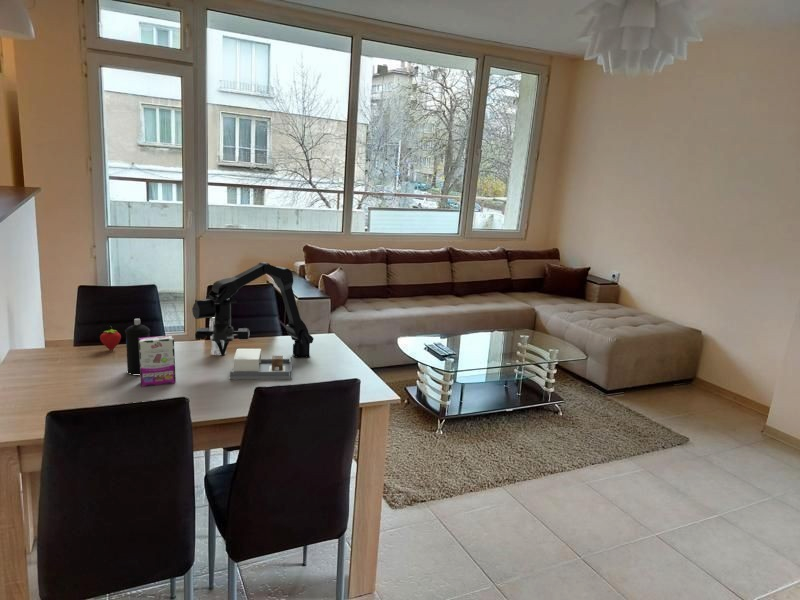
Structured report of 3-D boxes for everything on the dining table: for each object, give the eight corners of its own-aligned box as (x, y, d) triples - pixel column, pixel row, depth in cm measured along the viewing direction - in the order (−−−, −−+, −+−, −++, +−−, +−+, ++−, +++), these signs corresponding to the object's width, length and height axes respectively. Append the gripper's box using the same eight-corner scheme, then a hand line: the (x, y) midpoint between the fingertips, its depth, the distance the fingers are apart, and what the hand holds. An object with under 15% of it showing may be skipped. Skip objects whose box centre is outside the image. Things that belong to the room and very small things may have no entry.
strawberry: (100, 348, 217) (99, 325, 215) (121, 347, 221) (120, 323, 219) (100, 353, 212) (99, 328, 210) (121, 351, 216) (120, 327, 214)
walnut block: (282, 366, 207) (282, 355, 206) (282, 370, 203) (282, 359, 202) (272, 366, 206) (272, 355, 205) (271, 370, 202) (271, 359, 202)
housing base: (291, 364, 214) (292, 357, 213) (291, 379, 198) (291, 371, 198) (234, 364, 209) (234, 356, 209) (230, 379, 194) (230, 371, 193)
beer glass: (221, 357, 217) (221, 321, 214) (206, 355, 218) (205, 319, 215) (230, 352, 224) (230, 317, 220) (215, 350, 225) (215, 315, 222)
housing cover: (260, 362, 210) (261, 348, 208) (258, 373, 197) (258, 359, 196) (237, 362, 208) (237, 348, 206) (233, 374, 196) (233, 359, 194)
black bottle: (156, 370, 198) (154, 318, 194) (137, 377, 191) (135, 323, 186) (140, 366, 201) (138, 315, 197) (121, 372, 194) (119, 319, 189)
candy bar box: (174, 378, 192) (173, 334, 188) (175, 383, 188) (174, 338, 184) (140, 382, 187) (138, 337, 183) (140, 387, 182) (138, 341, 179)
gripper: (192, 320, 187) (192, 362, 190) (247, 321, 191) (246, 362, 194) (197, 312, 198) (198, 352, 201) (249, 313, 201) (249, 352, 205)
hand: (223, 355), depth 200 cm, fingers closed
